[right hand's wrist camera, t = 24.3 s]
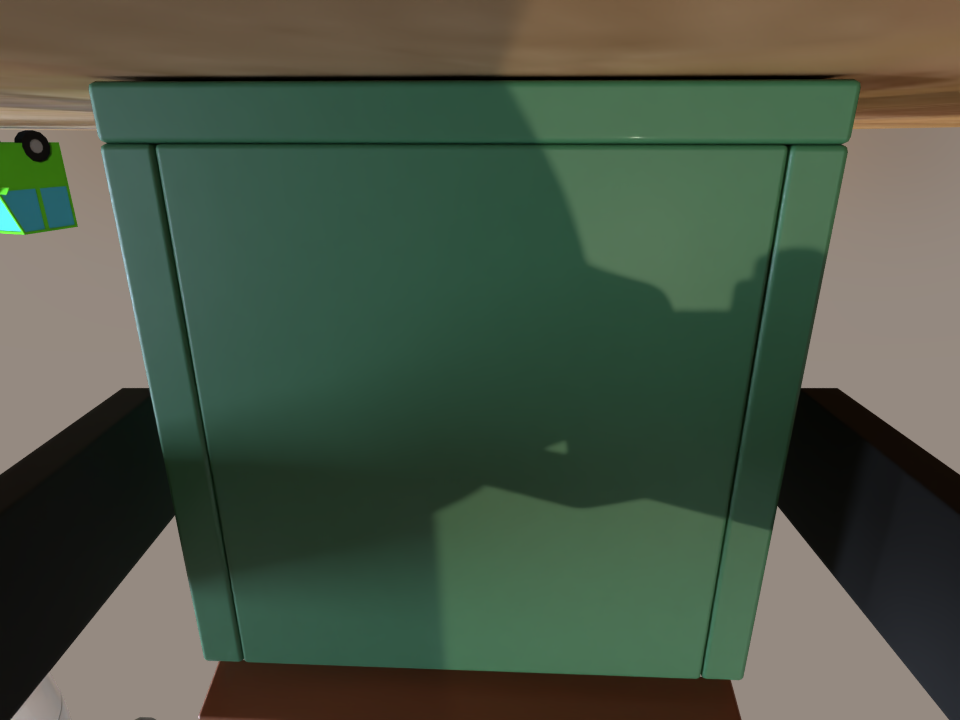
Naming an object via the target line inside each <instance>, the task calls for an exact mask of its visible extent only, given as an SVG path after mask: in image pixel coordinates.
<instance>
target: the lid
mask: <svg viewBox="0 0 960 720" xmlns="http://www.w3.org/2000/svg"><path fill="white" fill-rule="evenodd" d="M199 720H741V716H740V713H739V709H738V705H737V701H736V698H735V694H734V690H733V687H732V683H731V680H724V679H705V678H703V677H699V678H697V679H687V678H660V677H633V676H606V675H579V674H552V673H525V672H498V671H471V670H444V669H416V668H389V667H362V666H335V665H308V664H281V663H254V662H246V661H245V660H242V661H240V662H233V661H219V662H218V665H217V668H216V670H215V673H214V676H213V679H212V681H211V684H210V687H209V689H208V692H207V695H206V697H205V700H204V703H203V705H202V708H201V711H200V714H199Z"/></svg>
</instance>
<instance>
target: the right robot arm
mask: <svg viewBox="0 0 960 720" xmlns="http://www.w3.org/2000/svg"><path fill="white" fill-rule="evenodd" d="M777 506H778V507H779V508H780V510H781V511H782V512H783V513H784V514H785V516H786V517H787V518H788V519H789V521H790V522H791V523H792V524H793V526H794V527H795V528H796V529H797V531H798V532H799V533H800V534H801V536H802V537H803V538H804V539H805V541H806V542H807V543H808V544H809V546H810V547H811V548H812V549H813V551H814V552H815V553H816V554H817V556H818V557H819V558H820V559H821V560H822V562H823V563H824V564H825V566H826V567H827V568H828V569H829V570H830V572H831V573H832V574H833V576H834V577H835V578H836V579H837V581H838V582H839V583H840V584H841V585H842V587H843V588H844V589H845V590H846V592H847V593H848V594H849V595H850V597H851V598H852V599H853V600H854V602H855V603H856V604H857V605H858V607H859V608H860V609H861V610H862V612H863V613H864V614H865V615H866V617H867V618H868V619H869V620H870V622H871V623H872V624H873V625H874V627H875V628H876V629H877V630H878V632H879V633H880V634H881V635H882V636H883V638H884V639H885V640H886V642H887V643H888V644H889V645H890V647H891V648H892V649H893V650H894V652H895V653H896V654H897V655H898V657H899V658H900V659H901V660H902V661H903V663H904V664H905V665H906V666H907V668H908V669H909V670H910V671H911V673H912V674H913V675H914V676H915V678H916V679H917V680H918V681H919V683H920V684H921V685H922V686H923V688H924V689H925V690H926V691H927V693H928V694H929V695H930V696H931V698H932V699H933V700H934V701H935V703H936V704H937V705H938V706H939V708H940V709H941V710H942V711H943V713H944V714H945V715H946V716H947V718H948V719H949V720H960V475H959V474H958V473H956V472H955V471H954V470H952V469H951V468H949V467H948V466H947V465H945V464H944V463H942V462H941V461H940V460H938V459H937V458H935V457H934V456H932V455H931V454H930V453H928V452H927V451H925V450H924V449H922V448H921V447H920V446H918V445H917V444H915V443H914V442H913V441H911V440H910V439H908V438H907V437H906V436H904V435H903V434H901V433H900V432H899V431H897V430H896V429H894V428H893V427H891V426H890V425H889V424H887V423H886V422H884V421H883V420H882V419H880V418H879V417H877V416H876V415H875V414H873V413H872V412H870V411H869V410H867V409H866V408H865V407H863V406H862V405H860V404H859V403H858V402H856V401H855V400H853V399H852V398H851V397H849V396H848V395H846V394H845V393H843V392H842V391H841V390H839V389H838V388H801V389H800V394H799V399H798V404H797V409H796V414H795V419H794V424H793V429H792V434H791V439H790V444H789V450H788V455H787V460H786V465H785V470H784V475H783V480H782V485H781V490H780V495H779V500H778V505H777ZM174 516H175V512H174V507H173V502H172V497H171V492H170V487H169V483H168V478H167V473H166V468H165V463H164V458H163V453H162V448H161V443H160V438H159V433H158V428H157V424H156V419H155V414H154V409H153V404H152V399H151V394H150V389H149V388H122V389H121V390H119V391H118V392H117V393H115V394H114V395H112V396H111V397H110V398H108V399H107V400H105V401H104V402H102V403H101V404H100V405H98V406H97V407H95V408H94V409H93V410H91V411H90V412H88V413H87V414H85V415H84V416H83V417H81V418H80V419H79V420H77V421H76V422H74V423H73V424H71V425H70V426H68V427H67V428H66V429H64V430H63V431H61V432H60V433H59V434H57V435H56V436H54V437H53V438H52V439H50V440H49V441H47V442H46V443H45V444H43V445H42V446H40V447H39V448H38V449H36V450H35V451H33V452H32V453H30V454H29V455H28V456H26V457H25V458H23V459H22V460H21V461H19V462H18V463H16V464H15V465H13V466H12V467H11V468H9V469H8V470H6V471H5V472H4V473H2V474H1V475H0V720H11V719H12V718H13V716H14V715H15V714H16V713H17V711H18V710H19V709H20V708H21V706H22V705H23V704H24V703H25V701H26V700H27V699H28V698H29V696H30V695H31V694H32V693H33V691H34V690H35V689H36V688H37V686H38V685H39V684H40V683H41V681H42V680H43V679H44V678H45V676H46V675H47V674H48V673H49V671H50V670H51V669H52V668H53V666H54V665H55V664H56V663H57V661H58V660H59V659H60V658H61V656H62V655H63V654H64V653H65V651H66V650H67V649H68V648H69V647H70V645H71V644H72V643H73V642H74V640H75V639H76V638H77V637H78V635H79V634H80V633H81V632H82V630H83V629H84V628H85V627H86V625H87V624H88V623H89V622H90V620H91V619H92V618H93V617H94V615H95V614H96V613H97V612H98V610H99V609H100V608H101V607H102V605H103V604H104V603H105V602H106V600H107V599H108V598H109V597H110V595H111V594H112V593H113V592H114V590H115V589H116V588H117V587H118V585H119V584H120V583H121V582H122V581H123V579H124V578H125V577H126V576H127V574H128V573H129V572H130V570H131V569H132V568H133V567H134V566H135V564H136V563H137V562H138V561H139V559H140V558H141V557H142V556H143V554H144V553H145V552H146V551H147V549H148V548H149V547H150V546H151V544H152V543H153V542H154V541H155V539H156V538H157V537H158V536H159V534H160V533H161V532H162V531H163V529H164V528H165V527H166V526H167V524H168V523H169V522H170V521H171V519H172V518H173V517H174Z"/></svg>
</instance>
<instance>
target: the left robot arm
mask: <svg viewBox="0 0 960 720" xmlns="http://www.w3.org/2000/svg"><path fill="white" fill-rule="evenodd" d="M11 720H71V716H70V713H69V709H68V706H67V703H66V701H65V699H64V696H63V695H62V693H61V691H60V689H59V687H58V685H57V683H56V682H55V680H54V678H53V677H52V675H51V673H50V671H49V673H48V674H47V675H46V676H45V678H44V679H43V680H42V681H41V683H40V684H39V685H38V686H37V688H36V689H35V690H34V691H33V693H32V694H31V695H30V696H29V698H28V699H27V700H26V701H25V703H24V704H23V705H22V706H21V708H20V709H19V710H18V711H17V713H16V714H15V715H14V716H13V718H12V719H11ZM136 720H156V719H154V718H146V717H140V718H138V719H136Z"/></svg>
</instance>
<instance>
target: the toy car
mask: <svg viewBox="0 0 960 720" xmlns="http://www.w3.org/2000/svg"><path fill="white" fill-rule="evenodd" d="M72 227H77V221H76V217H75V212H74V208H73V203H72V199H71V195H70V190H69V186H68V181H67V177H66V172H65V168H64V164H63V159H62V155H61V150H60V146H59V143H58V142H56V143H55V142H48V141H47V139H46V137H44V136H43V135H42V134H41V133H40V132H36V131H33V130H25V131H22V132H19V133H18V134H17V135H16V137H15V142H0V233H5V234H22V235H26V234H33V233H39V232H46V231H52V230H59V229H65V228H72Z"/></svg>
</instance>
